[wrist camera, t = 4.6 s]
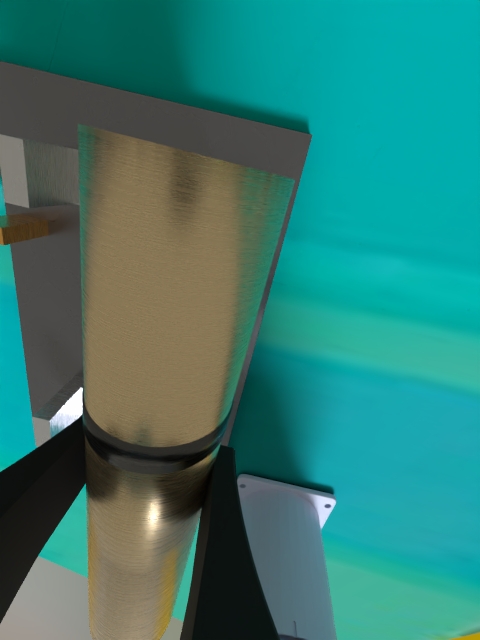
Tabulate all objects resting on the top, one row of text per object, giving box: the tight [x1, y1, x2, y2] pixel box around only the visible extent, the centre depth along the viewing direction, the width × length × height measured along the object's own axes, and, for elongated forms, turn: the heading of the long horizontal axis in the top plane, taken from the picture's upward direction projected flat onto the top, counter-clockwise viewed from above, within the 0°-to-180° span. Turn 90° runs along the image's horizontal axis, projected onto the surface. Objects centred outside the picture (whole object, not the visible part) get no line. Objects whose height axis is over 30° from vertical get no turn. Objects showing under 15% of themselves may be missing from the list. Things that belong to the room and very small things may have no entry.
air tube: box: [78, 124, 295, 640], centre depth 11 cm, size 22×4×4 cm, turn 167°
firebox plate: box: [0, 61, 312, 447], centre depth 16 cm, size 22×15×5 cm
